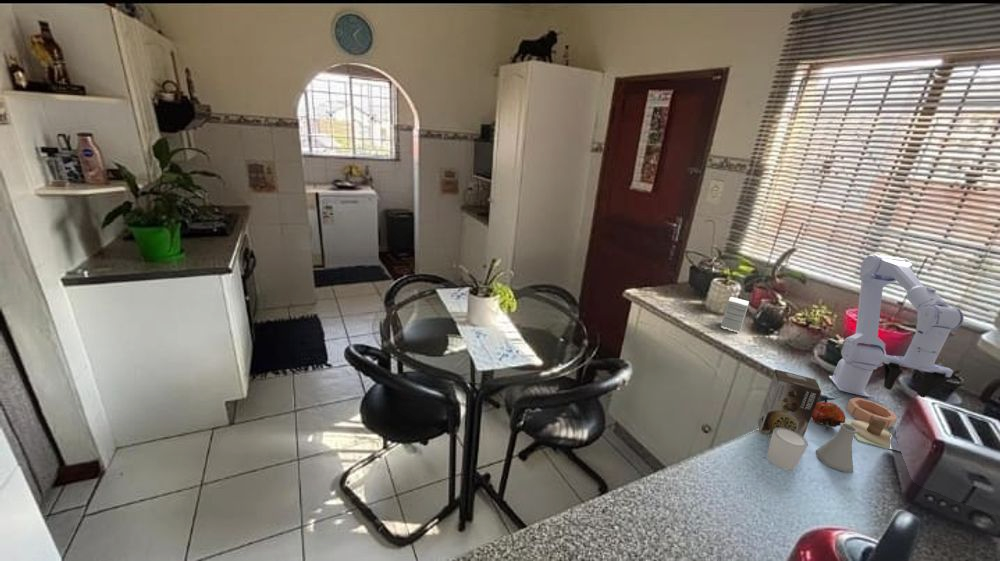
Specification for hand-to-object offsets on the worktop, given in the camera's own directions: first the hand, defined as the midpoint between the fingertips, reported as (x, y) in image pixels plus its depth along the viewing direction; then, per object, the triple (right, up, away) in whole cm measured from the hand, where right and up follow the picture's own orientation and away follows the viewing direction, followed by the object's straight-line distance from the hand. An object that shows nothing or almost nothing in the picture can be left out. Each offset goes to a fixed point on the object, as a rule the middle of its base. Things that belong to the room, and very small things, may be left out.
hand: (903, 391), depth 114 cm
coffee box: (-40, -9, -7) cm, 41 cm away
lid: (-12, -10, -4) cm, 16 cm away
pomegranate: (-24, -9, -2) cm, 25 cm away
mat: (-12, -11, -4) cm, 16 cm away
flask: (-32, -13, -15) cm, 38 cm away
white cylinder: (-46, -12, -17) cm, 51 cm away
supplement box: (-15, +10, +60) cm, 62 cm away
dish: (-5, -9, +5) cm, 11 cm away
